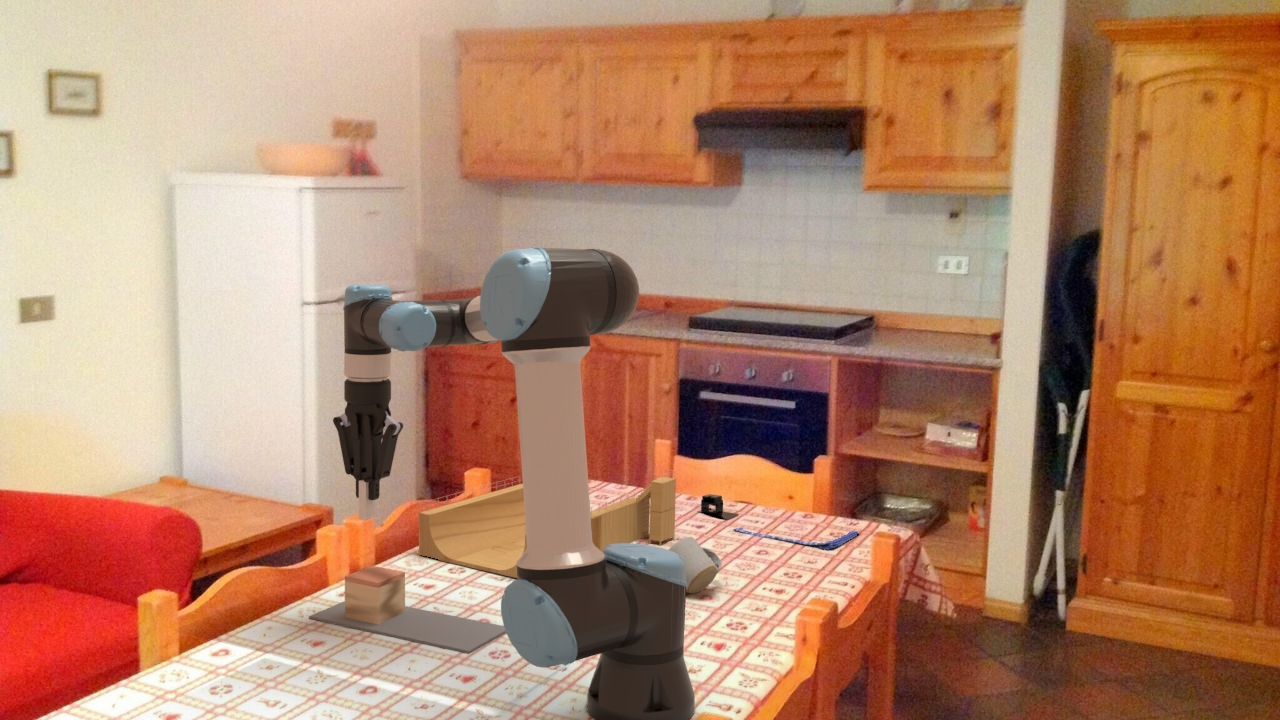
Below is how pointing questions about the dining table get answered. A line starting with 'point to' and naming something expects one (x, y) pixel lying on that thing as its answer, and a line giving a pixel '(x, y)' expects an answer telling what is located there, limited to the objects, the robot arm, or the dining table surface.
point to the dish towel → (825, 545)
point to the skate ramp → (497, 527)
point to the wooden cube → (374, 594)
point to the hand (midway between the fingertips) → (367, 517)
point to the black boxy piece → (718, 503)
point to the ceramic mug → (697, 564)
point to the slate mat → (422, 627)
